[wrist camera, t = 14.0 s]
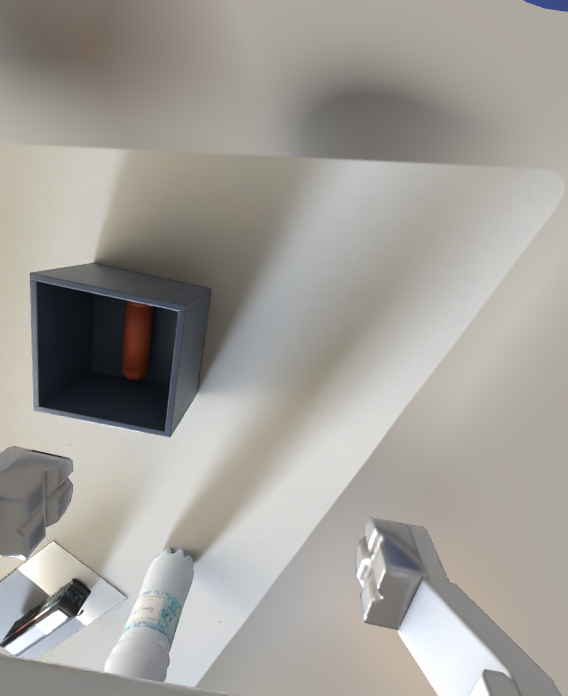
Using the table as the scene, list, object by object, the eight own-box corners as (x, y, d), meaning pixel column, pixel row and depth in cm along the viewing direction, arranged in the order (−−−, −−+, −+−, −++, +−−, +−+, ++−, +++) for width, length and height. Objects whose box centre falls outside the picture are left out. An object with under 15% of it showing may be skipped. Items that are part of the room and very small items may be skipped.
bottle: (187, 537, 50) (120, 725, 31) (206, 571, 52) (154, 767, 33) (145, 548, 51) (56, 737, 32) (165, 581, 53) (92, 777, 34)
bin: (92, 262, 38) (29, 272, 29) (211, 288, 39) (186, 305, 30) (88, 372, 42) (32, 410, 33) (196, 394, 43) (170, 438, 34)
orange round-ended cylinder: (138, 286, 39) (120, 288, 36) (160, 292, 38) (144, 295, 35) (132, 371, 42) (115, 379, 39) (152, 378, 41) (136, 387, 39)
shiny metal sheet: (127, 598, 54) (113, 627, 50) (30, 662, 60) (11, 693, 56) (53, 540, 51) (32, 567, 47) (-42, 615, 57) (-68, 644, 53)
